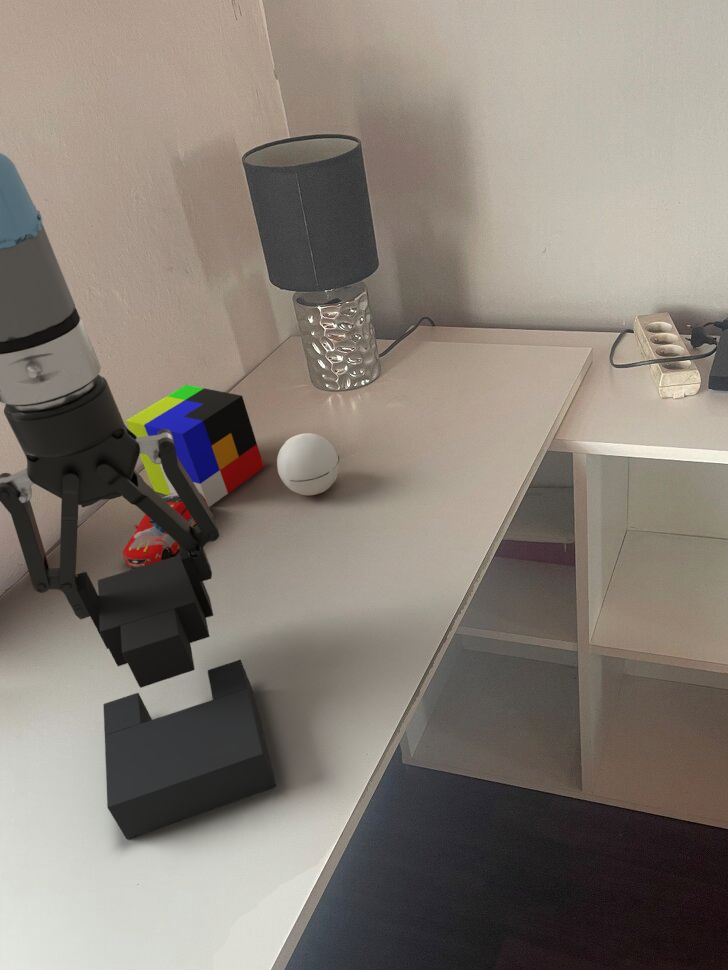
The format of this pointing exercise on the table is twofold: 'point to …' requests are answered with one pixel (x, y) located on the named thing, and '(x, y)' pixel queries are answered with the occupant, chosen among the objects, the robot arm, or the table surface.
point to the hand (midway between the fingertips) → (159, 623)
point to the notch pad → (184, 755)
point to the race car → (154, 538)
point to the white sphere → (308, 464)
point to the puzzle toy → (202, 440)
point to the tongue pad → (151, 620)
